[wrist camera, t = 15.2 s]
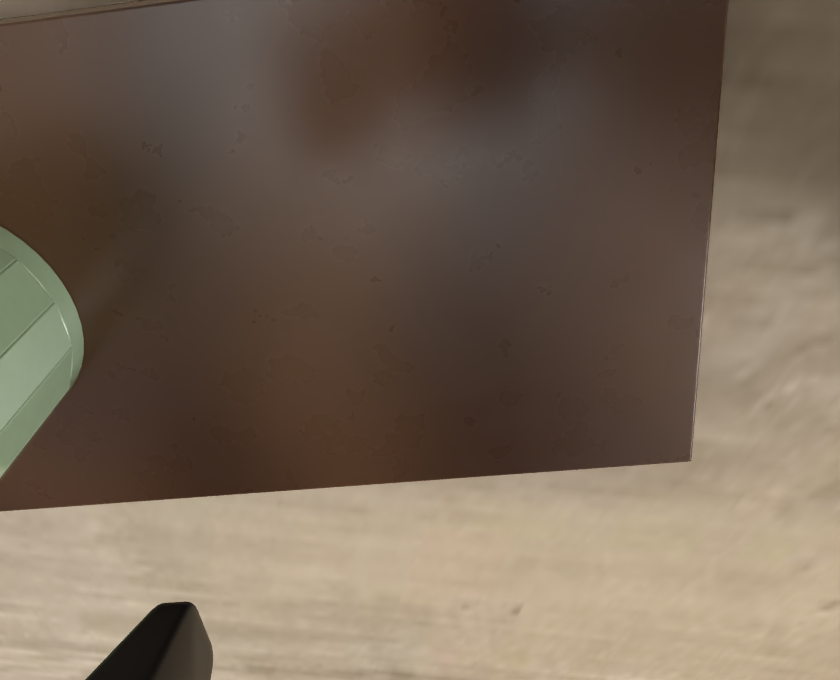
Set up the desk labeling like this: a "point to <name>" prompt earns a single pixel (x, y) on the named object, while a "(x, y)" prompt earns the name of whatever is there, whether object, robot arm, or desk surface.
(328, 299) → the walnut board
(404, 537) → the desk surface
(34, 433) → the pencil cup
